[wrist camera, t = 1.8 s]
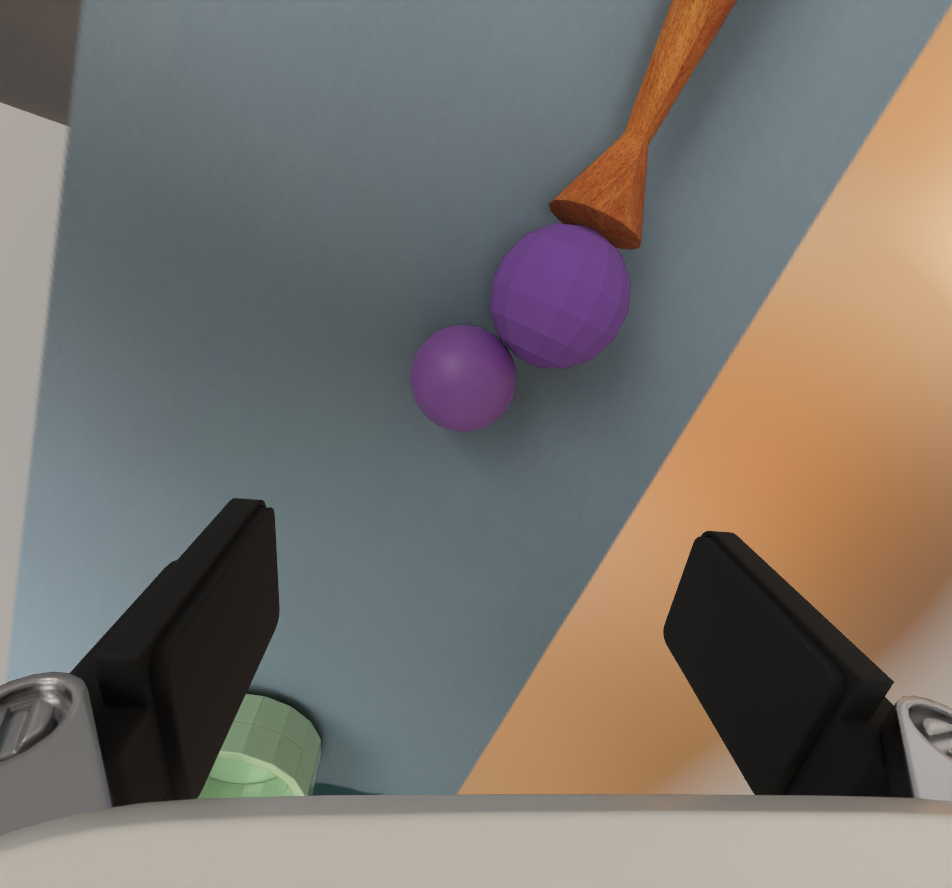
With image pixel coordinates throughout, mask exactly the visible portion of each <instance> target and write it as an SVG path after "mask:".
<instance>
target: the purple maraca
mask: <svg viewBox="0 0 952 888" xmlns="http://www.w3.org/2000/svg"><path fill="white" fill-rule="evenodd" d="M736 1H737V0H672V2H671V5H670V8H669V10H668V13H667V16H666V19H665V21H664V24H663V27H662V30H661V32H660V35H659V38H658V41H657V43H656V46H655V49H654V52H653V54H652V57H651V60H650V63H649V65H648V68H647V71H646V74H645V76H644V79H643V82H642V85H641V87H640V90H639V93H638V96H637V98H636V101H635V104H634V107H633V109H632V112H631V115H630V118H629V120H628V123H627V126H626V129H625V131H624V134H623V135H622V136H621V137H620V138H619V139H618V140H616V141H615V142H614V143H613V144H612V145H611V146H610V147H609V148H608V149H607V150H606V151H605V152H604V153H603V154H602V155H600V156H599V157H598V158H597V159H596V160H595V161H594V162H593V163H592V164H591V165H590V166H589V167H588V168H587V169H586V170H584V171H583V172H582V173H581V174H580V175H579V176H578V177H577V178H576V179H575V180H574V181H573V182H572V183H571V184H570V185H568V186H567V187H566V188H565V189H564V190H563V191H562V192H561V193H560V194H559V195H558V196H557V197H556V198H555V199H554V200H552V201H551V202H550V203H549V206H550V210H551V212H552V213H553V214H554V215H555V216H556V217H557V218H558V219H559V220H560V221H561V222H563V223H564V224H558V223H554V224H551V225H549V226H546V227H544V228H541V229H539V230H536V231H534V232H531V233H529V234H527V235H525V236H524V237H523V238H522V239H521V240H520V241H519V242H518V243H517V244H516V245H515V246H514V247H513V248H512V249H511V250H510V251H509V252H508V253H507V254H506V255H505V256H503V258H502V261H501V263H500V265H499V267H498V270H497V272H496V274H495V276H494V279H493V281H492V283H491V307H490V312H491V315H492V318H493V320H494V323H495V326H496V329H497V332H498V335H499V337H500V338H501V339H502V340H503V342H504V343H505V344H506V345H507V346H508V347H509V348H510V349H511V351H512V352H513V353H514V354H515V355H516V356H517V357H519V358H520V359H522V360H524V361H526V362H529V363H531V364H533V365H535V366H537V367H540V368H563V369H567V368H570V367H572V366H575V365H578V364H581V363H583V362H586V361H589V360H592V359H593V358H594V357H595V356H596V355H597V354H599V353H600V352H601V351H602V350H603V349H604V348H605V347H607V346H608V345H609V344H610V343H611V342H612V341H613V340H614V338H615V336H616V334H617V332H618V331H619V329H620V327H621V325H622V323H623V321H624V319H625V317H626V315H627V313H628V307H629V298H630V288H631V281H630V278H629V275H628V272H627V269H626V266H625V263H624V260H623V257H622V255H621V254H620V253H619V251H618V250H617V249H616V248H621V249H629V250H631V249H636V248H639V246H640V244H641V236H642V223H643V209H644V195H645V182H646V168H647V155H648V145H649V143H650V141H651V140H652V138H653V136H654V135H655V133H656V131H657V130H658V128H659V127H660V125H661V123H662V122H663V120H664V118H665V117H666V115H667V114H668V112H669V110H670V109H671V107H672V105H673V104H674V102H675V101H676V99H677V97H678V96H679V94H680V92H681V91H682V89H683V87H684V86H685V84H686V83H687V81H688V79H689V78H690V76H691V74H692V73H693V71H694V70H695V68H696V66H697V65H698V63H699V61H700V60H701V58H702V56H703V55H704V53H705V52H706V50H707V48H708V47H709V45H710V43H711V42H712V40H713V39H714V37H715V35H716V34H717V32H718V30H719V29H720V27H721V26H722V24H723V22H724V21H725V19H726V17H727V16H728V14H729V12H730V11H731V9H732V8H733V6H734V4H735V3H736ZM615 247H616V248H615Z"/></svg>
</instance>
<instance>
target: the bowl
mask: <svg viewBox="0 0 952 888" xmlns="http://www.w3.org/2000/svg"><path fill="white" fill-rule="evenodd" d="M320 759H321V740H320V737H319V735H318V733H317V732H316V730H315V728H314V726H313V725H312V723H311V722H310V721H309V720H308V719H307V718H305V717H304V716H303V715H302V714H300V713H299V712H298V711H296V710H295V709H294V708H292V707H291V706H289V705H286V704H284V703H281V702H279V701H276V700H273V699H271V698H268V697H266V696H259V695H252V694H246V695H245V697H244V699H243V702H242V704H241V706H240V708H239V710H238V713H237V715H236V717H235V719H234V721H233V724H232V726H231V728H230V730H229V732H228V735H227V737H226V739H225V741H224V743H223V746H222V748H221V750H220V752H219V754H218V757H217V759H216V761H215V763H214V765H213V768H212V770H211V772H210V774H209V776H208V779H207V781H206V783H205V785H204V787H203V789H202V791H201V793H200V795H199V797H198V798H197V799H203V798H237V797H279V796H312V794H313V790H314V785H315V781H316V776H317V772H318V768H319V764H320Z"/></svg>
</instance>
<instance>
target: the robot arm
mask: <svg viewBox="0 0 952 888" xmlns="http://www.w3.org/2000/svg"><path fill="white" fill-rule="evenodd" d="M278 618H279V590H278V571H277V552H276V532H275V514H274V510H273V508H267V507H266V505H265V502H264V501H263V500H253V499H238V498H233V499H232V500H230V501H229V502H228V504H227V505H226V506H225V507H224V508H223V509H222V510H221V511H220V513H219V514H218V515H217V516H216V517H215V518H214V519H213V520H212V522H211V523H210V524H209V525H208V526H207V527H206V528H205V529H204V531H203V532H202V533H201V534H200V535H199V536H198V537H197V538H196V540H195V541H194V542H193V543H192V544H191V545H190V546H189V547H188V549H187V550H186V551H185V552H184V553H183V554H182V555H181V557H180V558H179V559H178V560H176V561H173V562H171V563H170V564H169V565H168V566H166V567H165V568H164V570H163V571H162V572H161V573H160V574H159V575H158V576H157V577H156V578H155V579H154V581H153V582H152V583H151V584H150V585H149V586H148V587H147V588H146V589H145V591H144V592H143V593H142V594H141V595H140V596H139V597H138V598H137V599H136V600H135V602H134V603H133V604H132V605H131V606H130V607H129V608H128V609H127V610H126V612H125V613H124V614H123V615H122V616H121V617H120V618H119V619H118V620H117V621H116V623H115V624H114V625H113V626H112V627H111V628H110V629H109V630H108V631H107V633H106V634H105V635H104V636H103V637H102V638H101V639H100V640H99V641H98V642H97V644H96V645H95V646H94V647H93V648H92V649H91V650H90V651H89V652H88V654H87V655H86V656H85V657H84V658H83V659H82V660H81V661H80V662H79V663H78V665H77V666H76V667H75V668H74V669H73V670H72V671H71V672H70V673H61V672H48V673H41V674H33V675H30V676H27V677H23V678H20V679H17V680H13V681H10V682H8V683H6V684H3V685H1V686H0V888H952V709H951V708H949V707H947V706H946V705H943V704H941V703H938V702H935V701H933V700H930V699H927V698H922V697H917V696H903V697H902V698H900V699H899V700H898V701H897V702H896V703H895V705H893V704H892V703H891V702H890V701H889V700H888V699H887V698H886V697H885V695H886V694H887V692H888V691H889V689H890V688H891V686H892V684H893V683H894V682H893V680H891V679H890V678H889V677H888V676H887V675H886V674H885V673H884V672H883V671H882V670H881V669H880V668H879V667H877V666H876V665H875V664H874V663H873V662H872V661H871V660H870V659H869V658H868V657H867V656H866V655H865V654H864V653H862V652H861V651H860V650H859V649H858V648H857V647H856V646H855V645H854V644H853V643H852V642H851V641H849V639H847V638H846V637H845V636H844V635H843V634H842V633H841V632H840V631H839V630H838V629H837V628H836V627H835V626H834V625H832V624H831V623H830V622H829V621H828V620H827V619H826V618H825V617H824V616H823V615H822V614H821V613H820V612H818V611H817V610H816V609H815V608H814V607H813V606H812V605H811V604H810V603H809V602H808V601H807V600H806V599H804V598H803V597H802V596H801V595H800V594H799V593H798V592H797V591H796V590H795V589H794V588H793V587H792V586H790V585H789V584H788V583H787V582H786V581H785V580H784V579H783V578H782V577H781V576H780V575H779V574H778V573H777V572H776V571H774V570H773V569H772V568H771V567H770V566H769V565H768V564H767V563H766V562H765V561H764V560H763V559H762V558H761V557H759V556H758V555H757V554H756V553H755V552H754V551H753V550H752V549H751V548H750V547H749V546H748V545H746V544H745V543H744V542H743V541H742V540H741V539H740V538H739V537H738V536H737V535H735V534H734V533H729V532H716V531H706V532H704V533H703V534H702V535H701V537H698V538H696V539H695V541H694V543H693V546H692V549H691V552H690V554H689V557H688V560H687V563H686V566H685V568H684V571H683V574H682V577H681V580H680V583H679V585H678V588H677V591H676V594H675V597H674V600H673V602H672V605H671V608H670V611H669V614H668V616H667V619H666V622H665V625H664V631H663V633H664V639H665V642H666V644H667V646H668V648H669V649H670V651H671V653H672V655H673V656H674V658H675V660H676V661H677V663H678V665H679V666H680V668H681V670H682V672H683V673H684V675H685V677H686V678H687V680H688V682H689V684H690V685H691V687H692V689H693V691H694V692H695V694H696V696H697V697H698V699H699V701H700V703H701V704H702V706H703V708H704V709H705V711H706V713H707V715H708V716H709V718H710V720H711V721H712V723H713V725H714V726H715V728H716V730H717V731H718V733H719V735H720V737H721V738H722V740H723V742H724V744H725V745H726V747H727V749H728V750H729V752H730V754H731V756H732V757H733V759H734V760H735V762H736V764H737V766H738V767H739V769H740V771H741V772H742V774H743V776H744V778H745V780H746V781H747V783H748V785H749V786H750V788H751V790H752V791H753V793H754V794H755V795H631V794H629V795H628V794H622V795H621V794H617V795H615V794H614V795H613V794H612V795H610V794H609V795H608V794H607V795H605V794H604V795H603V794H594V795H590V794H586V795H585V794H567V795H566V794H558V795H557V794H545V795H543V794H534V795H533V794H527V795H526V794H523V795H522V794H516V795H515V794H513V795H512V794H510V795H509V794H505V795H504V794H503V795H501V794H500V795H497V794H492V795H490V794H488V795H320V796H279V797H237V798H203V799H197V798H198V797H199V795H200V793H201V791H202V789H203V787H204V785H205V783H206V781H207V779H208V776H209V774H210V772H211V770H212V768H213V765H214V763H215V761H216V759H217V757H218V754H219V752H220V750H221V748H222V746H223V743H224V741H225V739H226V737H227V735H228V732H229V730H230V728H231V726H232V724H233V721H234V719H235V717H236V715H237V713H238V710H239V708H240V706H241V704H242V702H243V699H244V697H245V695H246V693H247V691H248V688H249V686H250V684H251V682H252V680H253V677H254V675H255V673H256V671H257V669H258V666H259V664H260V662H261V660H262V657H263V655H264V653H265V651H266V649H267V646H268V644H269V642H270V640H271V638H272V635H273V633H274V631H275V629H276V626H277V623H278Z"/></svg>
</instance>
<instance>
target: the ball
mask: <svg viewBox="0 0 952 888" xmlns="http://www.w3.org/2000/svg"><path fill="white" fill-rule="evenodd" d="M410 375H411V389H412V393H413V396H414V399H415V401H416V403H417V405H418V406H419V408H420V410H421V411H422V412H423V413H424V415H425V416H426V417H427V418H429V419H430V420H431V421H432V422H434V423H435V424H437V425H439V426H441V427H443V428H445V429H448V430H452V431H458V432H469V431H475V430H479V429H482V428H485V427H487V426H489V425H490V424H492V423H493V422H495V421H496V420H497V419H498V418H500V417H501V416H502V414H503V413H504V412H505V411H506V410H507V408H508V407H509V405H510V403H511V401H512V399H513V396H514V393H515V388H516V369H515V364H514V361H513V358H512V356H511V354H510V352H509V350H508V349H507V347H506V346H505V345H504V343H503V342H502V341H501V340H500V339H499V338H497V337H496V336H495V335H494V334H492V333H491V332H489V331H487V330H485V329H483V328H480V327H477V326H472V325H454V326H450V327H446V328H444V329H441V330H439V331H437V332H436V333H434V334H433V335H431V336H430V337H429V338H428V339H427V340H426V341H425V342H424V343H423V344H422V345H421V347H420V348H419V350H418V352H417V353H416V355H415V358H414V360H413V363H412V367H411V374H410Z"/></svg>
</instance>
